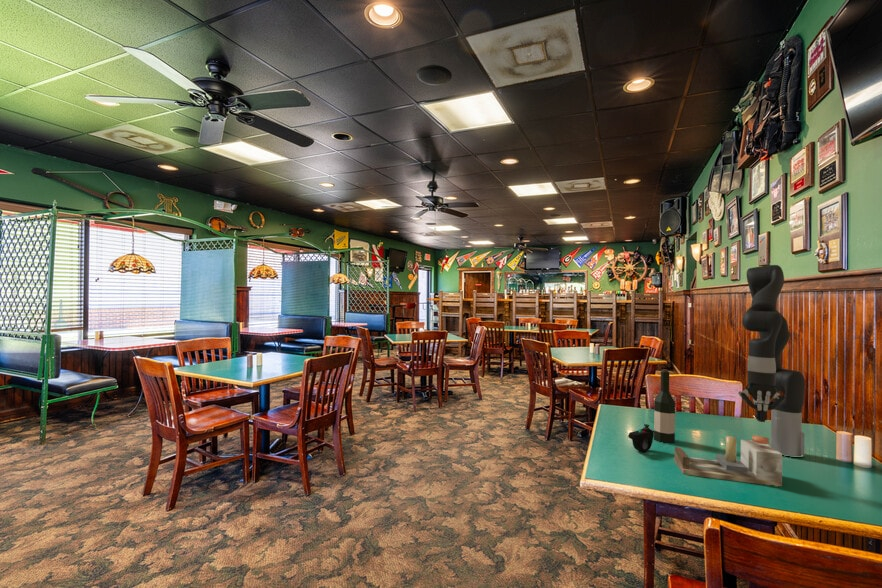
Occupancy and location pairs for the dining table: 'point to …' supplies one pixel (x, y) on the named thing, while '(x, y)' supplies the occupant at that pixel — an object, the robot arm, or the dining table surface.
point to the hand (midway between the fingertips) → (760, 421)
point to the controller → (642, 438)
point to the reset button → (760, 439)
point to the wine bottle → (664, 412)
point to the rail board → (754, 456)
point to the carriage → (731, 457)
